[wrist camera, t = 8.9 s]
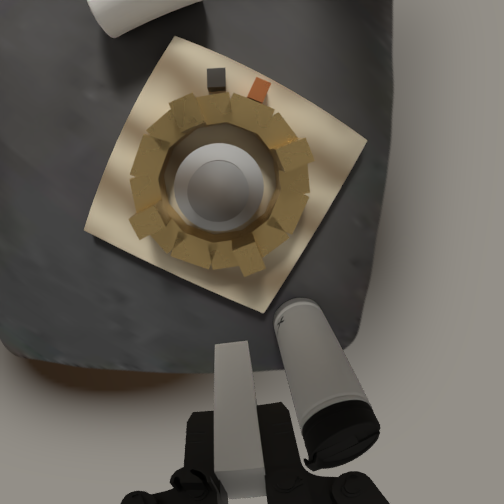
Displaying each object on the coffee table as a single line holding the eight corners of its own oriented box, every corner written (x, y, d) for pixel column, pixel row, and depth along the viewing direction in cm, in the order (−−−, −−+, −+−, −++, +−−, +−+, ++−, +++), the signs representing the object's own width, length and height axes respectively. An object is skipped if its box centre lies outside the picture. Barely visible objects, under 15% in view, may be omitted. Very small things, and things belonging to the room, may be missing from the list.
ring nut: (121, 227, 28) (103, 243, 23) (183, 58, 23) (174, 42, 18) (263, 277, 32) (270, 301, 27) (334, 119, 26) (355, 116, 22)
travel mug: (261, 312, 36) (293, 456, 17) (310, 288, 35) (380, 418, 17) (282, 346, 38) (318, 479, 19) (327, 324, 37) (390, 448, 19)
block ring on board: (177, 42, 24) (159, 5, 15) (359, 140, 29) (407, 143, 21) (91, 224, 30) (49, 255, 21) (261, 304, 35) (273, 355, 27)
